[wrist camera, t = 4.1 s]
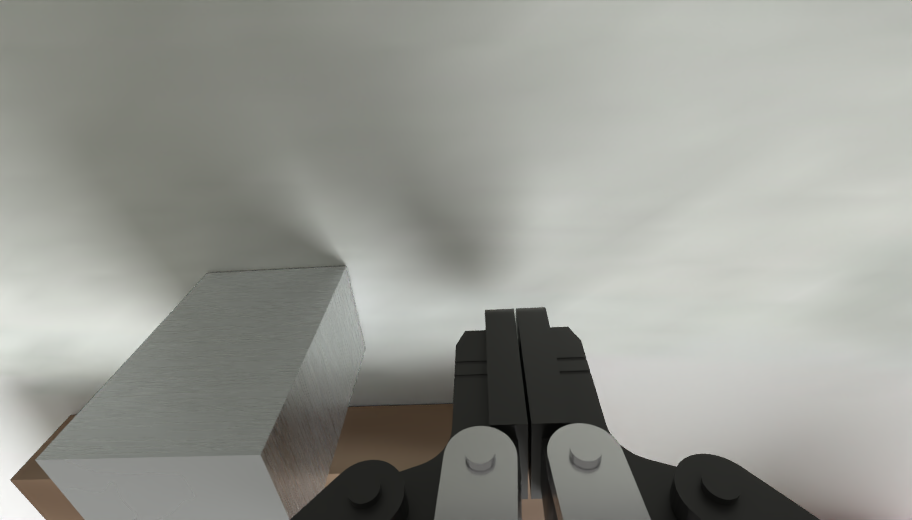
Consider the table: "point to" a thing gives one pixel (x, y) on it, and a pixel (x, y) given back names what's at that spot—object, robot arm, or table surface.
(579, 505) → the robot arm
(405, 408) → the deck
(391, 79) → the table surface
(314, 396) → the grey steel block
